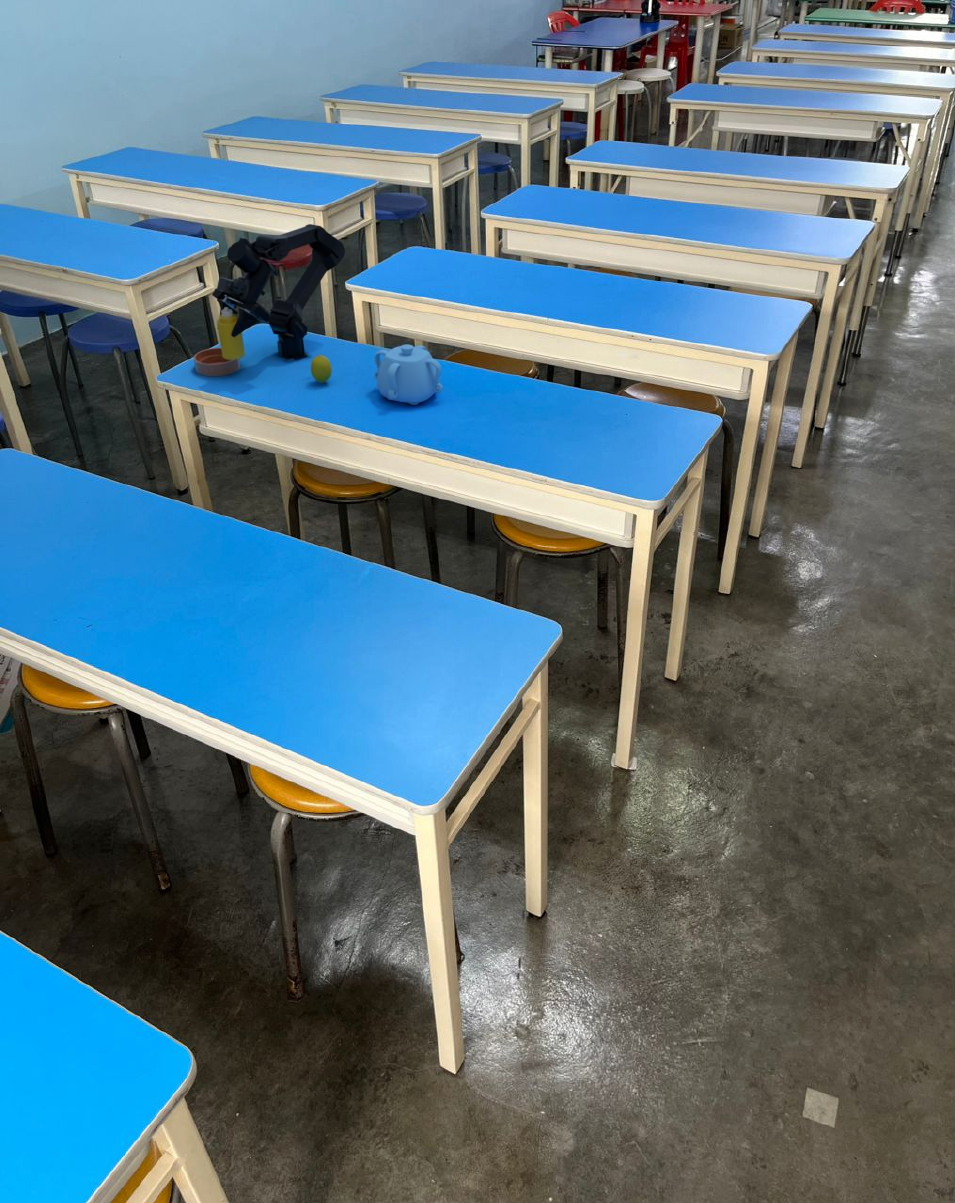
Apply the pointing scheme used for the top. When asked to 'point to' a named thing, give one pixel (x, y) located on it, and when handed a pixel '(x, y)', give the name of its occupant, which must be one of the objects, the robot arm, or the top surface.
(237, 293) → the robot arm
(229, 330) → the mustard bottle
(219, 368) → the bowl
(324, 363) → the lemon
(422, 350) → the decorative pot
